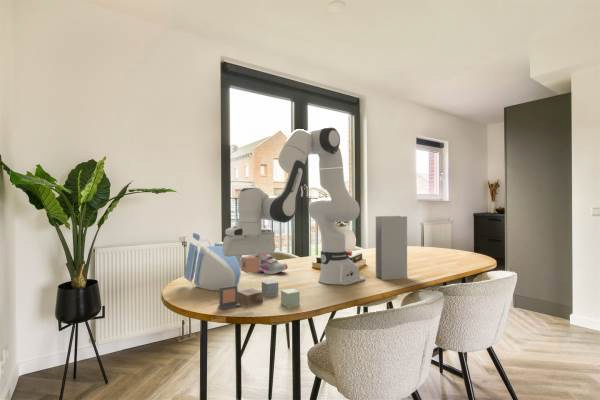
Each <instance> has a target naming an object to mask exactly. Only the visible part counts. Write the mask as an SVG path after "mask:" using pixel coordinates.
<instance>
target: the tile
mask: <svg viewBox="0 0 600 400" xmlns="http://www.w3.org/2000/svg"><path fill="white" fill-rule="evenodd" d="M218 291H219V294H218V295H219V296H218V297H219V299H218V300H219V303H218V305H217V308H218V309H219V310H220V311H223V310H228V309H229V310H230V309H234V308H239V307H240V306H241V303H240V302H237V291H238V285H234V286H227V287H220V288H219V290H218Z"/></svg>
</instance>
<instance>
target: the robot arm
mask: <svg viewBox="0 0 600 400" xmlns="http://www.w3.org/2000/svg"><path fill="white" fill-rule="evenodd" d="M340 143H341V136H340V134H339V132H338V130H337V129H336V127H333V126H332V127H331V126H324V127H318V128H313V129H310V130H304V129H300V128H298V129H295V130H293V131H292V133H291V134H290V135H289V137H288V138H287V139H286V141H285V143H283V146H282V148H281V150H280V152H279V156H278V160H277V161H278V165H279V166H280V169H282V170H283V171H284V172H285V173H286V174H287V178H286V181H285V185H284V187H283V191H282V192H281V193H280V194H278V195H271V194H268V193H267V192H265V191H264V190H262V189H261V187H259V186H256V185H255V186H247V187H243V188H241V189H240V190H239V194H238V201H237V202H238V203H237V211H238V212H237V213H238V219H237V224H236V225H234V226H232V227H228V228H226V229H225V232H224V233H225V235H226V236H224V237H223V241H222V242H223V254H224V255H225V256H227V257H230V256H236V259H237V260H238V262H239V267H240V268H243V267H245V266H244V265H245V263H244V262H242V261H241V258H242V257H243V256H253V255H256V254H257V256H259V257H258V258H259V266H260V261H261V259H262V258H263V253H266V254H274V252H275V251H276V242H275V237H276V236H275V231H274V230H273V229H272V228H262V226H263V224H262V222H263V220H266V221H273V222H274V221H275V222H279V223H284V224H285V223H288V222H290V221H291V220H292V219H293V218H295V217H294V216H295V215H296V212H297V203H298V198H299V195H300V192H301V188H302V186H303V182H304V178H305V175H306V166H305V163H306V161H307V159H308V157H309V155H318V157H319V158H318V170H319V173H318V174H319V183H320V187H321V188H322V189H324V190H325V191H327V192H328V194H329V196H330V197H321V198H317V199H313V200H312V201H310V203H309V206H308V213H309V216H310V218H312V219H313V220H314V221H315V223H316V224H317V226H318V228H319V231H320V235H321V236H320V237H321V251H320V263H321V264H320V272H319V276H318V279H317V281H318V282H319V283H322V284H325V285H326V284H327V285H339V286H340V285H342V286H348V285H352V284H355V283H356V284H357V283H359V282H362V281H365V278H366V277H364V276H363V275H361V274H360V269H359V268H360V267H359V266H358V265H357V264H356V263H354V262H353V260H351V259H349V257H352V256H353V252H352V251H347V250H346V234H345V233H344V231H343V230H341V229H340V228H339V227H338V226H337V223H336V222H341V223H342V222H343V223H345V222H351V221H355V220H356V219H358V217H359V215H360V210H361V209H360V205H359V203H358V201H357V200H356V199H354V198H353V197H352V196H351V194H350V193H349V191H348V190H347V186H346V184H345V176H344V163H343V157H342V153H341V152H342V151H341V149H340Z"/></svg>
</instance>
